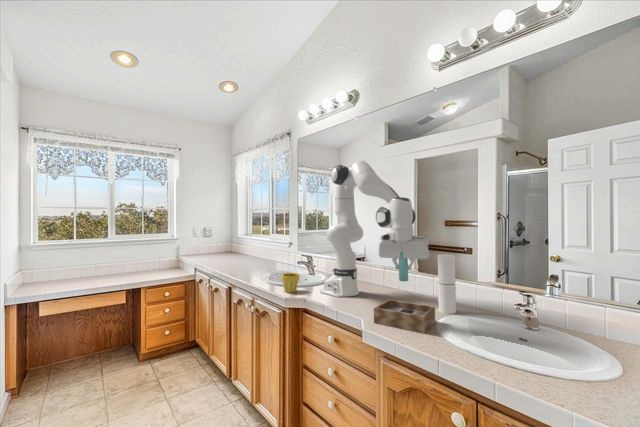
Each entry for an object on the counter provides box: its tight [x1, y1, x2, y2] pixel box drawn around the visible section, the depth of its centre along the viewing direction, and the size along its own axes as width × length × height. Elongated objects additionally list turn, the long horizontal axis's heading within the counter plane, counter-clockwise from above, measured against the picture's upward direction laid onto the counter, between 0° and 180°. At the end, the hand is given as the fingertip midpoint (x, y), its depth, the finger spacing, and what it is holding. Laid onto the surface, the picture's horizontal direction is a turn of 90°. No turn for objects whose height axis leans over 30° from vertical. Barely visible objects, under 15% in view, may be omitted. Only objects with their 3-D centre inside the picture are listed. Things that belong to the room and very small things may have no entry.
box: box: [373, 299, 436, 334], centre depth 122 cm, size 20×15×6 cm
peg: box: [398, 252, 409, 282], centre depth 125 cm, size 4×4×12 cm
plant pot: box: [281, 272, 300, 294], centre depth 176 cm, size 10×10×10 cm
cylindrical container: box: [437, 254, 457, 315], centre depth 135 cm, size 7×7×25 cm
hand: (403, 269), depth 125 cm, fingers closed on peg, 4 cm apart
